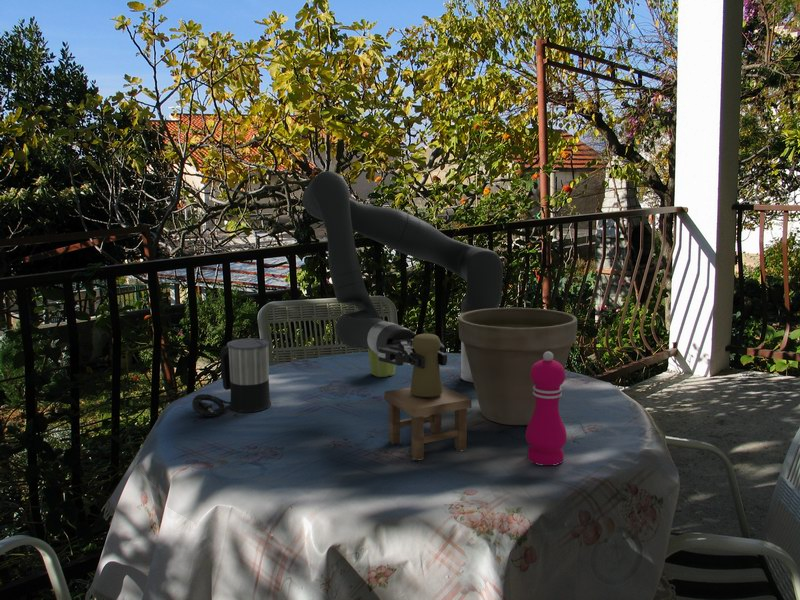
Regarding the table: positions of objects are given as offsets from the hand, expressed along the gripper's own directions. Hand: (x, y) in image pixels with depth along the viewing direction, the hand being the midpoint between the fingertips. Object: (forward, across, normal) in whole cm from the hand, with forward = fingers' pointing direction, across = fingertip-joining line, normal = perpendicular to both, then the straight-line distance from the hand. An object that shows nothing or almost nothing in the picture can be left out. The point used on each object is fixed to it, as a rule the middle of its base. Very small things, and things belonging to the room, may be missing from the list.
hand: (433, 361), depth 127 cm
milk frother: (-42, -27, +18) cm, 53 cm away
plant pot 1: (-52, +15, +18) cm, 57 cm away
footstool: (-2, 0, +17) cm, 17 cm away
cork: (-3, 0, +7) cm, 7 cm away
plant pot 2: (-9, +26, +18) cm, 32 cm away
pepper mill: (+13, +16, +17) cm, 27 cm away
